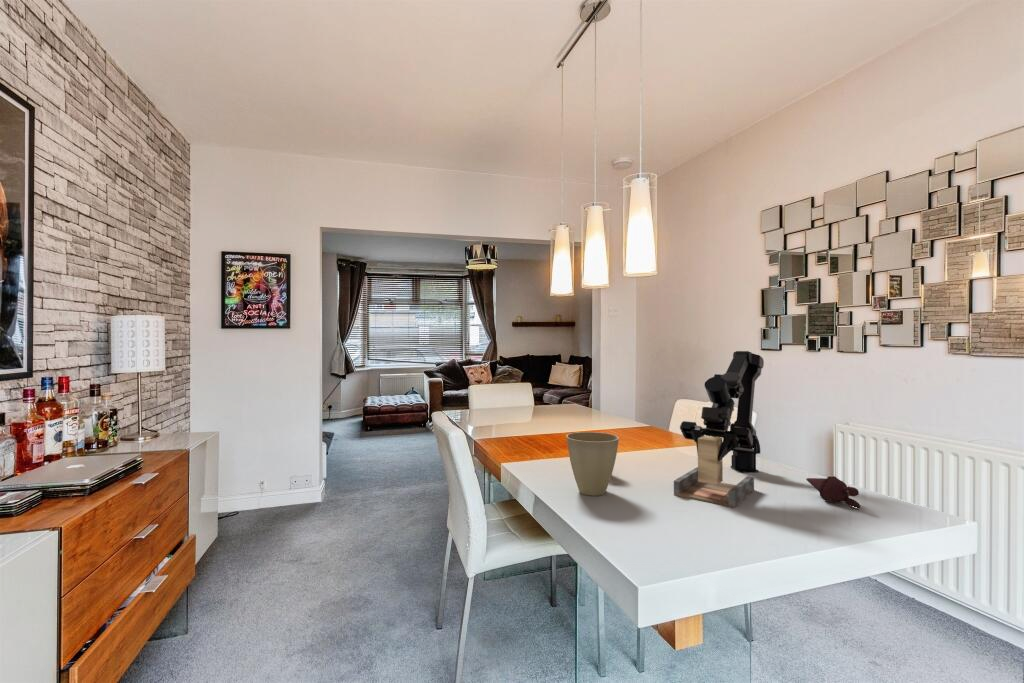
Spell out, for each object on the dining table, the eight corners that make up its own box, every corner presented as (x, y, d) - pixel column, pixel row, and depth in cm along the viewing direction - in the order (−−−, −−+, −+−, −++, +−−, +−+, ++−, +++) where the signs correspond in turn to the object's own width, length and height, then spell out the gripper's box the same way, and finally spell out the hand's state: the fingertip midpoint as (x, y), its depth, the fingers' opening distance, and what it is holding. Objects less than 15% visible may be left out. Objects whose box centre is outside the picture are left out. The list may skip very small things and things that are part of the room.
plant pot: (619, 502, 126) (619, 442, 126) (564, 498, 129) (564, 440, 129) (618, 485, 141) (618, 432, 141) (568, 482, 144) (568, 430, 144)
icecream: (794, 471, 132) (846, 492, 118) (815, 463, 134) (868, 482, 119) (798, 494, 133) (849, 518, 119) (818, 485, 135) (871, 507, 120)
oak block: (704, 477, 135) (703, 435, 135) (722, 480, 132) (722, 437, 132) (698, 481, 131) (697, 438, 131) (716, 485, 128) (716, 440, 128)
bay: (697, 479, 146) (697, 466, 146) (754, 490, 136) (753, 476, 136) (673, 494, 132) (673, 480, 132) (734, 507, 121) (734, 492, 121)
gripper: (681, 393, 140) (667, 436, 132) (749, 398, 128) (738, 446, 120) (691, 416, 146) (678, 459, 138) (757, 423, 134) (747, 470, 126)
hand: (708, 458), depth 130 cm, fingers closed on oak block, 5 cm apart
